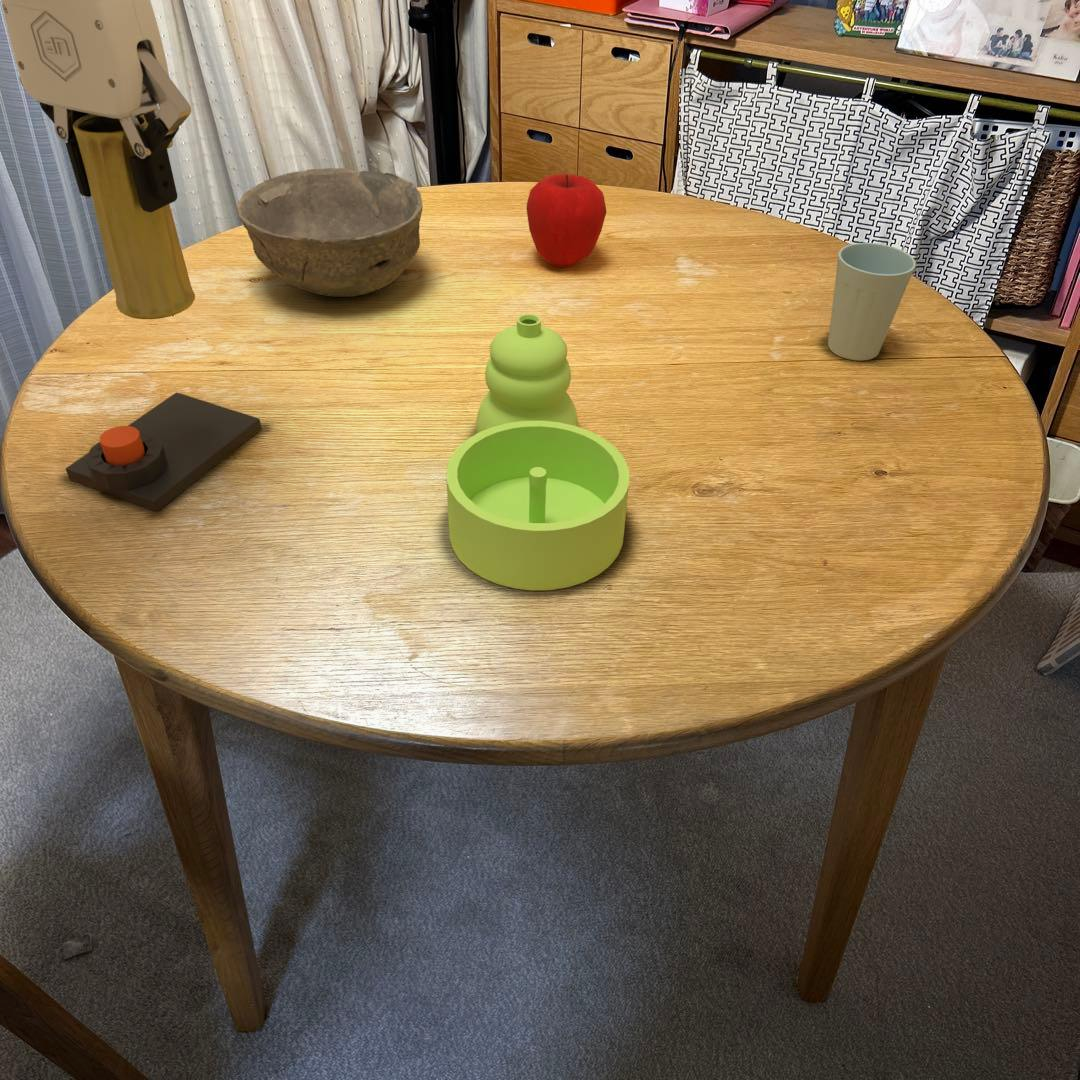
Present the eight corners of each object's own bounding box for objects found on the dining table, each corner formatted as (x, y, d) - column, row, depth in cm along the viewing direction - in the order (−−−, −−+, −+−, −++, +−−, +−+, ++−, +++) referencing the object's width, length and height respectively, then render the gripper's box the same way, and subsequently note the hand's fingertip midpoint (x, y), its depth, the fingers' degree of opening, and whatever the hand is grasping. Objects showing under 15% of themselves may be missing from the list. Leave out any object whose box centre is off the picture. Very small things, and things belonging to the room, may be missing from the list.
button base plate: (152, 515, 81) (144, 487, 79) (64, 482, 84) (53, 454, 82) (262, 429, 91) (256, 402, 89) (179, 402, 94) (172, 375, 92)
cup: (816, 360, 103) (838, 268, 96) (817, 327, 108) (838, 238, 102) (889, 370, 102) (917, 278, 95) (886, 336, 107) (913, 247, 100)
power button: (126, 470, 81) (119, 450, 80) (97, 460, 82) (90, 440, 81) (153, 451, 83) (147, 431, 82) (125, 441, 84) (118, 421, 83)
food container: (635, 587, 75) (650, 456, 67) (449, 593, 74) (442, 462, 66) (598, 411, 94) (606, 293, 86) (449, 414, 93) (443, 295, 85)
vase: (174, 279, 82) (132, 103, 73) (209, 305, 79) (170, 124, 69) (104, 300, 79) (51, 118, 69) (137, 328, 75) (86, 141, 66)
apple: (604, 279, 116) (610, 190, 109) (525, 277, 116) (526, 188, 109) (601, 245, 124) (606, 159, 117) (526, 243, 124) (527, 157, 117)
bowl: (283, 340, 104) (268, 251, 97) (230, 265, 117) (213, 183, 110) (457, 299, 111) (454, 215, 105) (388, 234, 125) (382, 156, 118)
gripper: (-89, -89, 61) (7, 193, 73) (115, -62, 56) (183, 238, 68) (8, -103, 66) (83, 163, 78) (203, -79, 61) (252, 203, 73)
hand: (129, 195), depth 73 cm, fingers closed on vase, 5 cm apart
